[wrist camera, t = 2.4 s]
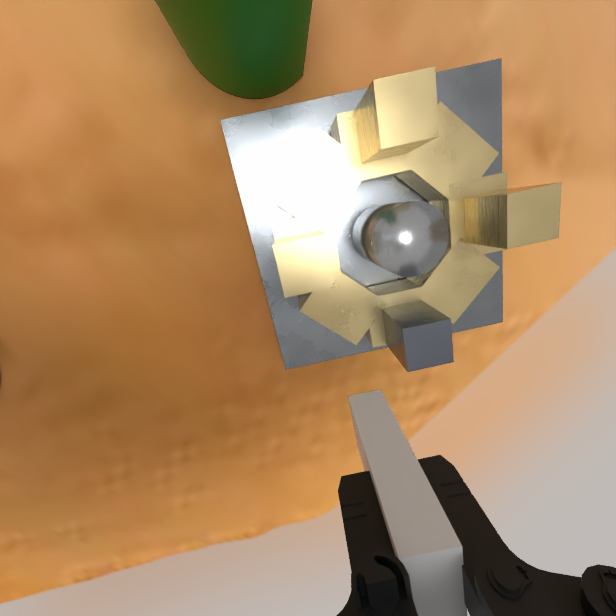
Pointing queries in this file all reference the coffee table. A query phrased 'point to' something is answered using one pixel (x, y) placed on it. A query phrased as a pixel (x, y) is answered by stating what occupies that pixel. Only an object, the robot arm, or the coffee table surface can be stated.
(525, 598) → the robot arm
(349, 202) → the flange plate
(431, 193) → the ring nut
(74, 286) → the coffee table surface
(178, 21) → the motor
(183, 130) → the coffee table surface
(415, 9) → the coffee table surface
